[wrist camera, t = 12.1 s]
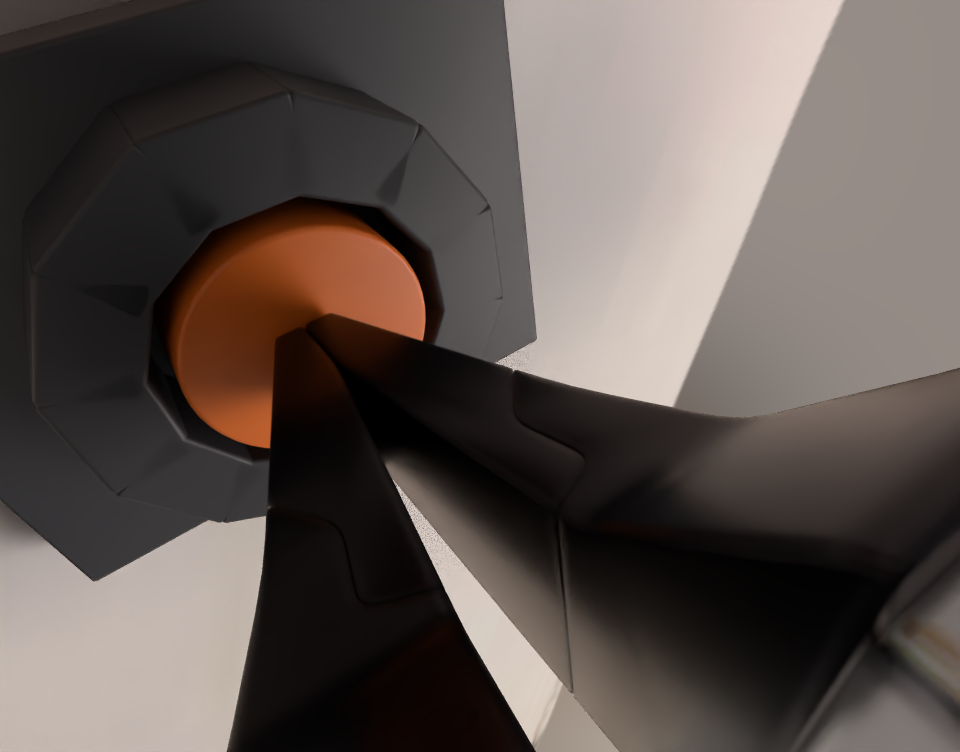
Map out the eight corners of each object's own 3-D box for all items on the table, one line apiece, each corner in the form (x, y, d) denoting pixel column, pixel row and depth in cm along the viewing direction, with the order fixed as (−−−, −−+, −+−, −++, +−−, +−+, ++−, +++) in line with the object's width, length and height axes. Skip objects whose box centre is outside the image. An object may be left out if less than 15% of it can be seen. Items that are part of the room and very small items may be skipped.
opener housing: (86, 537, 12) (108, 667, 10) (-349, 127, 7) (-492, 233, 5) (509, 316, 15) (588, 381, 13) (454, -87, 10) (578, -78, 8)
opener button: (214, 423, 11) (245, 489, 9) (98, 240, 8) (117, 299, 7) (399, 331, 12) (445, 380, 11) (344, 146, 9) (398, 183, 8)
